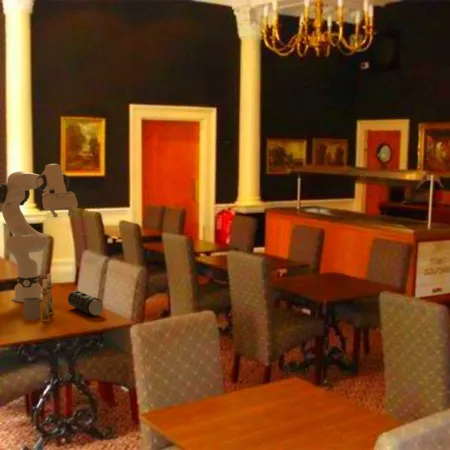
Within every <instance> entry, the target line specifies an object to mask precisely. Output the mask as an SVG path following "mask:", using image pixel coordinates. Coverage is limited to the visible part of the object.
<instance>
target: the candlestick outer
mask: <svg viewBox="0 0 450 450" xmlns="http://www.w3.org/2000/svg"><path fill="white" fill-rule="evenodd" d="M49 292H50V291H48V290H47V278H44V279H42V290H41V293H42V300H41V301H42V303H41V304H42V306H41V308H42V318H41V319H40V322H42V323H49V322H51V318H50V317H49V316H50V315H49V312H48V293H49Z"/></svg>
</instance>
